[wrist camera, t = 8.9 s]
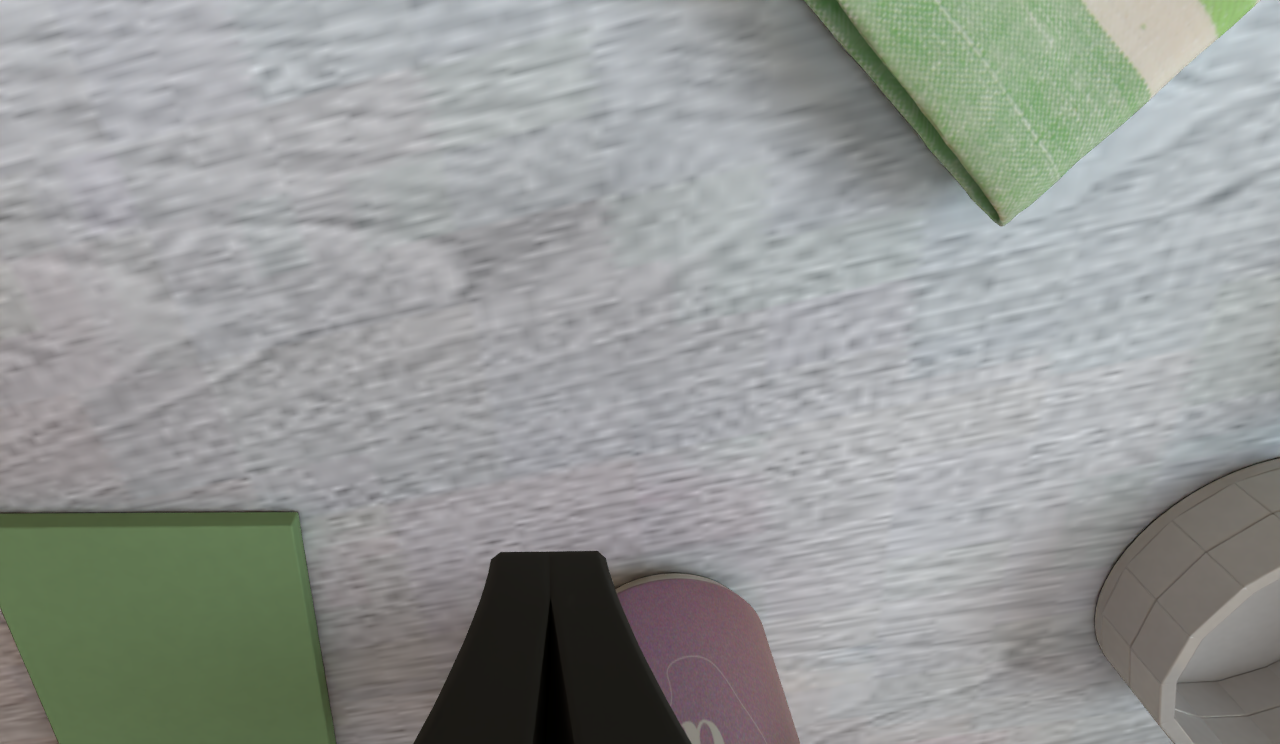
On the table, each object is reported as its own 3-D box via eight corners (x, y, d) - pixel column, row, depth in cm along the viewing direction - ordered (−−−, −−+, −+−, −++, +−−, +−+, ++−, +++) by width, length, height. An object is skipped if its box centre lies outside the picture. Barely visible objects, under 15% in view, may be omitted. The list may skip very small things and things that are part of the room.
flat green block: (85, 767, 24) (75, 785, 23) (-21, 512, 19) (-36, 528, 19) (338, 755, 25) (334, 772, 24) (298, 511, 20) (291, 526, 20)
